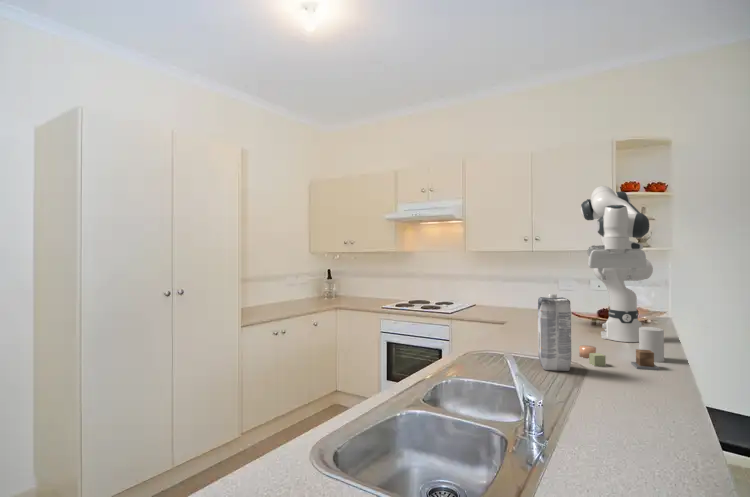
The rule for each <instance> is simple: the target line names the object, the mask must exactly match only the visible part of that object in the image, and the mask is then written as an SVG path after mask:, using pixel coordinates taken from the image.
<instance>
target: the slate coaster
mask: <svg viewBox="0 0 750 497" xmlns="http://www.w3.org/2000/svg"><path fill="white" fill-rule="evenodd" d="M630 363H631V365H632V366H633V367H635V369H637V370H648V371H649V370H650V371H651V370H652V371H660V367H659V366H657V365H656V364H655V363H654V367H649V366H639V365H638V364H637V363H636V361H630Z"/></svg>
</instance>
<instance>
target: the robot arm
mask: <svg viewBox="0 0 750 497" xmlns="http://www.w3.org/2000/svg"><path fill="white" fill-rule="evenodd" d="M580 213H581V215H582V217H583V218H584V220H586V221H594V220H597V233H598V235H599V236H600V240H601V244H602V245H601V244H600V245H595V244H594V245H591V246H589V247H588V248H587V255H588V260H587V262H588V263H587V266H588V268H590V269H593V273H594V276H595V277H596V279H598V280H600V281H601V282H602V283H603V284H604V285H605V287H606V289H607V291H608V297H609V309H608V318H607V320H606V322H604V323H602V324H601V325H602V326H601V327H602V329H604V330H603V331H602V330H601V331H600V336H601V339H603V340H604V339H605V340H610V341H615V342H622V343H624V342H625V343H639V327H643V325H642V324H643V323H642V322H641V321H640V320H639V319H638V318H639V311H638V310H637V307H638V305H637V304H638V302H637V301H638V300H637V294H636V293H635V292H634V291H633V290H632V289H630V288H628V287H627V286H626V285H625V282H628V281H629V282H630V281H633V282H635V281H636V282H637V281H643V280H648V279H649V278H651V276H652V274H653V272H654V268H653V267H654V266H653V265H652V263H651V261H650V260H649V259H647V257H646V253H645V251H644V250H643V249H644V245H643V244H642V243H640V242H635V241H632V240H630V238H638V239H641V238H643V237H644V236H646V235H647V234H648V233H649V232H650V221H649V218H648V216H646V215H645V214H644V213H642V212H641V211H639V209H637V208H636V207H635V206H634V205H633V204H632V203H631V199H630V196H629V195H628V194H627V192H625V191H616V192H615V191H614V190H613V189H612V188H610V187H609V186H607V185H601V186H597V187H596V188H594V189H593V191H592V192H591V194H590V199H586V200H584V201H583V202H582V203H581V205H580Z"/></svg>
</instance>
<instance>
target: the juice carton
mask: <svg viewBox="0 0 750 497" xmlns="http://www.w3.org/2000/svg"><path fill="white" fill-rule="evenodd" d="M571 309H572V308H571V300H570V299H567V298H566V297H558V296H557V294H553V293H552V294H550V293H549V294H548V297H546V296H545V297H544V296H543V297H541V296H540V297H538V301H537V354H538V355H537V356H538V359H539V363H540V366H541V367H542V369H543V370H544V371H560V372H569V371H570V368H571V365H572V310H571Z"/></svg>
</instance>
